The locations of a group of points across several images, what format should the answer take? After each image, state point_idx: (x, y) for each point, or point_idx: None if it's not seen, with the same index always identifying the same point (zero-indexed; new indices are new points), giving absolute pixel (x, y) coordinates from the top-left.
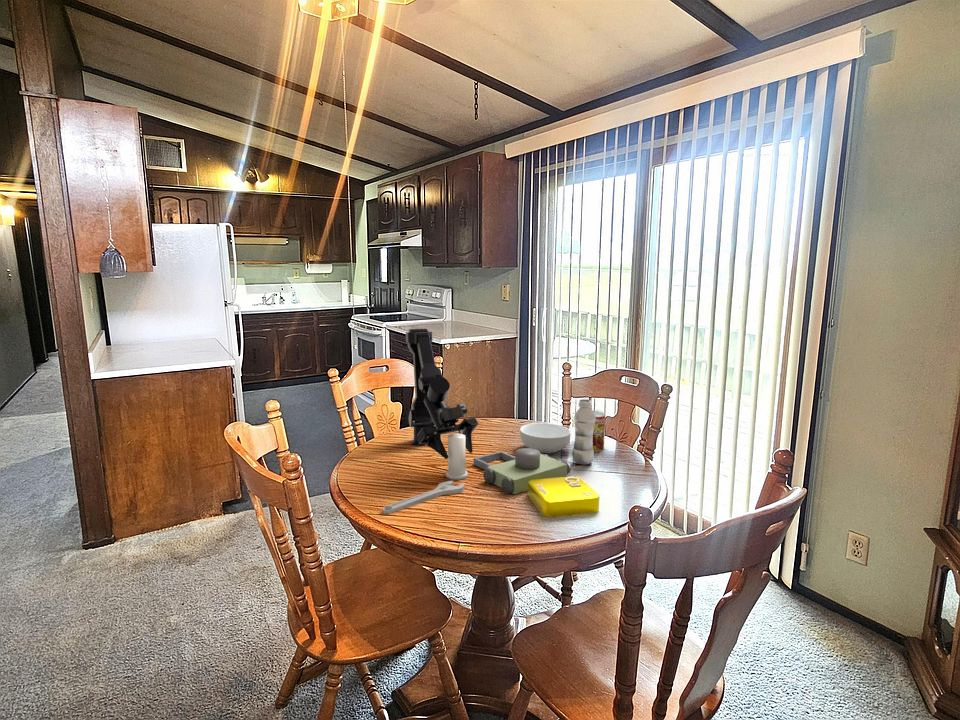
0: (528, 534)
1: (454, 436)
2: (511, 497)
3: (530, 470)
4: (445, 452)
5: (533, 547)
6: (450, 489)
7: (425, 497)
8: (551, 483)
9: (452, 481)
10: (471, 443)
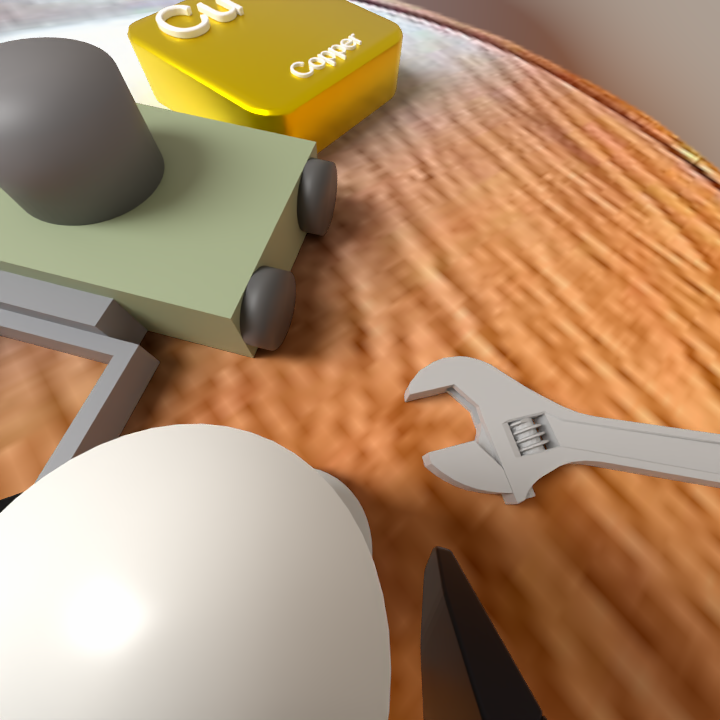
0: (511, 82)
1: (203, 705)
2: (350, 196)
3: (157, 141)
4: (467, 599)
5: (547, 60)
6: (518, 387)
7: (675, 429)
8: (252, 56)
9: (437, 453)
10: (5, 501)
